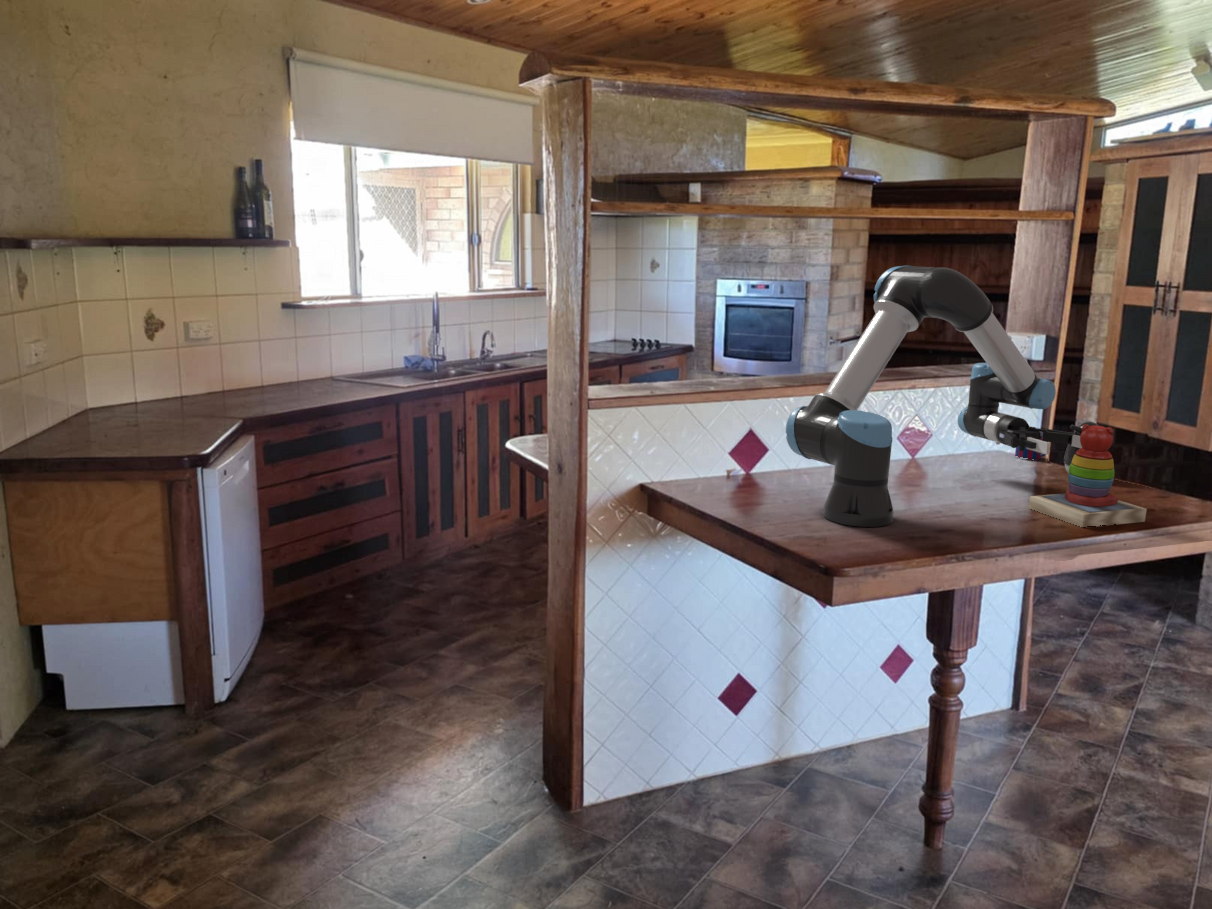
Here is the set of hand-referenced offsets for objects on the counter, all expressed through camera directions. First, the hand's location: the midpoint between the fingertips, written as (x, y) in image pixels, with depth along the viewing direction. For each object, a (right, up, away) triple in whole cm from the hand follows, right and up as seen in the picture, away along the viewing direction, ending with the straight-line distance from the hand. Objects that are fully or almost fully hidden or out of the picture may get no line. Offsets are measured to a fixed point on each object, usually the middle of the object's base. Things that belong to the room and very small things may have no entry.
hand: (1071, 447), depth 223 cm
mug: (+15, -3, +55) cm, 57 cm away
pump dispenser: (+19, -8, +34) cm, 40 cm away
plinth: (+2, -16, -3) cm, 16 cm away
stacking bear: (+2, -13, -4) cm, 13 cm away
